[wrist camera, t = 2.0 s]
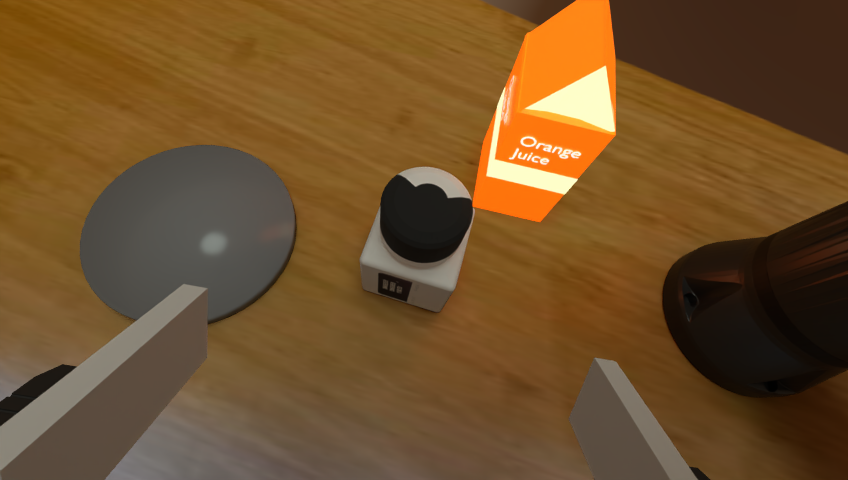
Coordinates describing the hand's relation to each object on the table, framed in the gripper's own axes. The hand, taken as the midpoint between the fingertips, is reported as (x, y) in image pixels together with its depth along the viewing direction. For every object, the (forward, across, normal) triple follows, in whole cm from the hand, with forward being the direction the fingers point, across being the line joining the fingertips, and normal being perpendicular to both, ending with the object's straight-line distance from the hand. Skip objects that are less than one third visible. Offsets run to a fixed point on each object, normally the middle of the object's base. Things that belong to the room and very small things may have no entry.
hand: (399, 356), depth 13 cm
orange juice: (+33, +10, +1) cm, 34 cm away
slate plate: (+24, -20, -8) cm, 32 cm away
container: (+24, +1, -8) cm, 26 cm away
